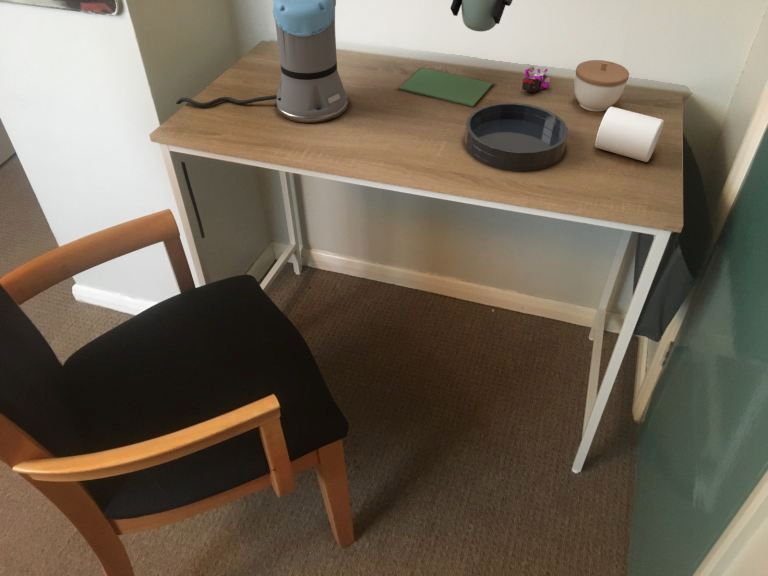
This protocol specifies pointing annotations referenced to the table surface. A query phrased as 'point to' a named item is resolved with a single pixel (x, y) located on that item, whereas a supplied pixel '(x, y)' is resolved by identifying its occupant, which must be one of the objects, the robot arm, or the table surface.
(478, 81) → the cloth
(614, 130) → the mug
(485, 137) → the shallow round tray
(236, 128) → the table surface
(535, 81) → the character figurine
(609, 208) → the table surface
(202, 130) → the table surface
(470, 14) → the cup
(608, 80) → the trinket box
